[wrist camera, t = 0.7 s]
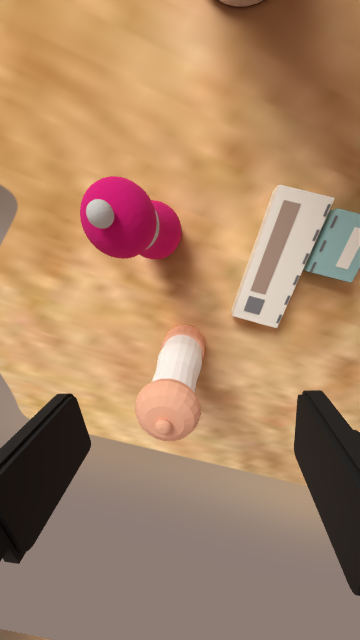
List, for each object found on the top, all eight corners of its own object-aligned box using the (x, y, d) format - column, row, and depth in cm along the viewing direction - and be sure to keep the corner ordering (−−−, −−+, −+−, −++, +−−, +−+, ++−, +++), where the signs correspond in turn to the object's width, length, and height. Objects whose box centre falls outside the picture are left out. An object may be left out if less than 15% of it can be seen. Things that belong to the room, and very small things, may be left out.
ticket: (273, 189, 28) (279, 184, 26) (324, 202, 28) (335, 197, 25) (230, 311, 34) (232, 316, 32) (272, 322, 34) (277, 328, 32)
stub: (326, 211, 28) (337, 208, 26) (370, 222, 28) (386, 219, 25) (300, 269, 31) (308, 271, 28) (340, 280, 31) (352, 282, 28)
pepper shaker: (208, 357, 38) (208, 456, 20) (171, 363, 39) (138, 461, 21) (199, 320, 36) (190, 393, 18) (160, 329, 37) (114, 404, 19)
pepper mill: (193, 239, 32) (172, 225, 13) (157, 267, 34) (92, 290, 15) (166, 196, 30) (95, 109, 11) (129, 228, 32) (19, 199, 13)
